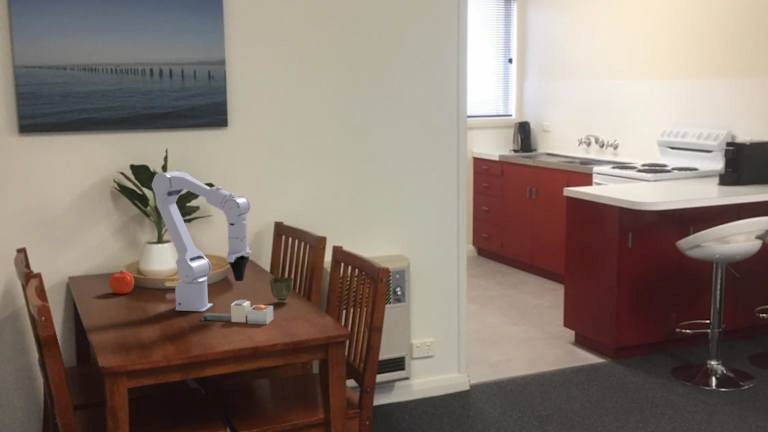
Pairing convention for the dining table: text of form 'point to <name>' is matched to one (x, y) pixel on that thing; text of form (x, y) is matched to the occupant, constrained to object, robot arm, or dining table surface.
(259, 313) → the button housing
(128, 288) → the apple
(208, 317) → the rail
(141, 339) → the dining table surface
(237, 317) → the block
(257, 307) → the button
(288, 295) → the cup
